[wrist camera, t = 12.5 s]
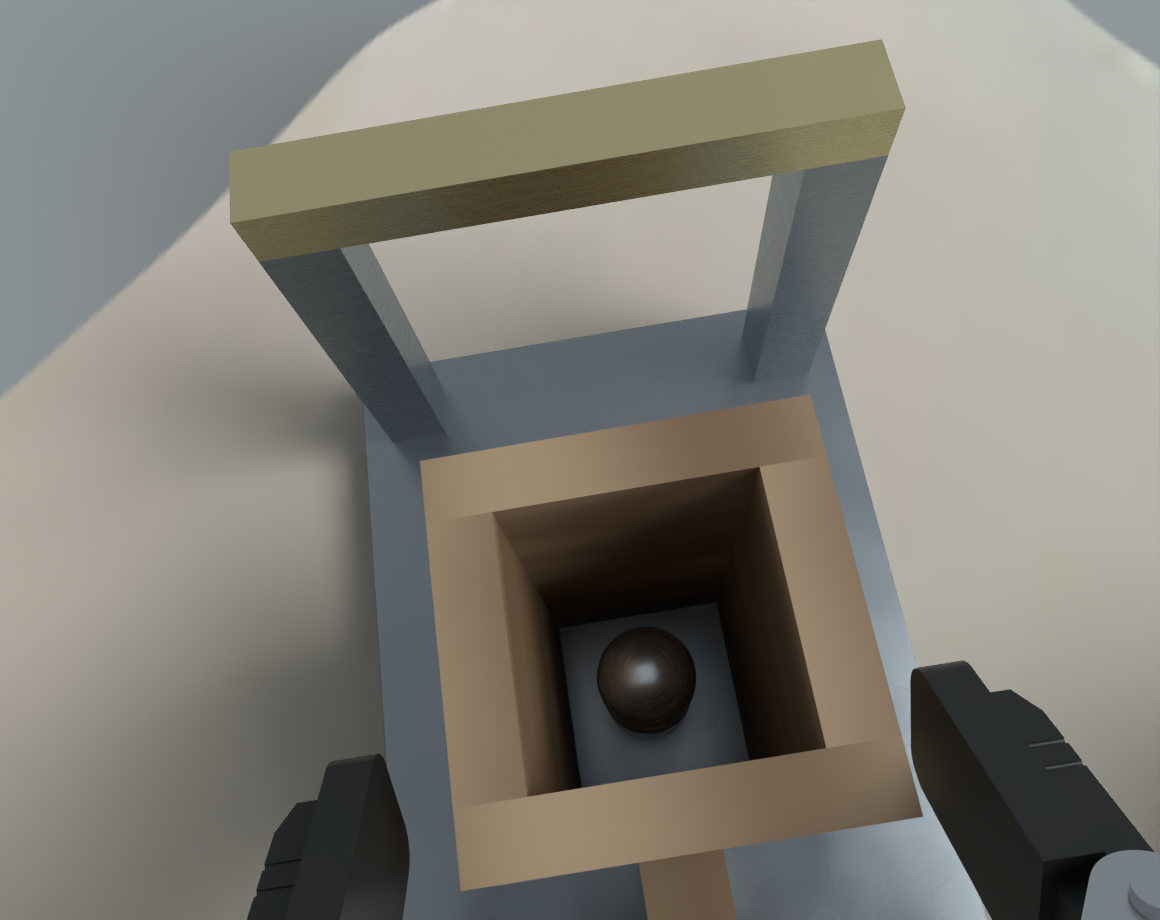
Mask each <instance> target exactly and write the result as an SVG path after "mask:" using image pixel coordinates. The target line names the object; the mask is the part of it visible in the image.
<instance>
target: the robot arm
mask: <svg viewBox="0 0 1160 920" xmlns="http://www.w3.org/2000/svg"><path fill="white" fill-rule="evenodd" d="M910 709H911V754H912V760H913V765H914V769H915V772H916V775H917V778H918V781H919V784H920V786H921V789H922V791H923V793H924V794H925V796H926V798H927V800H928V802H929V804H930V806H931V807H932V809H933V811H934V813H935V815H936V817H937V819H938V820H939V822H940V824H941V826H942V828H943V830H944V831H945V833H946V835H947V837H948V839H949V841H950V843H951V844H952V846H953V848H954V850H955V852H956V854H957V856H958V857H959V859H960V861H961V863H962V865H963V867H964V868H965V870H966V872H967V874H968V876H969V878H970V880H971V881H972V883H973V885H974V887H975V889H976V891H977V893H978V894H979V896H980V898H981V900H982V902H983V904H984V905H985V907H986V909H987V911H988V913H989V915H990V917H991V918H992V920H1160V854H1159V853H1155V852H1154V851H1153V850H1152V848H1151V847H1150V846H1149V845H1148V844H1147V842H1146V841H1145V840H1144V838H1143V837H1142V836H1141V835H1140V833H1139V832H1138V831H1137V830H1136V828H1135V827H1134V826H1133V825H1132V823H1131V822H1130V821H1129V819H1128V818H1127V817H1126V816H1125V814H1124V813H1123V812H1122V811H1121V809H1120V808H1119V807H1118V806H1117V804H1116V803H1115V802H1114V800H1113V799H1112V798H1111V797H1110V795H1109V794H1108V793H1107V792H1106V790H1105V789H1104V788H1103V786H1102V785H1101V784H1100V783H1099V781H1098V780H1097V779H1096V778H1095V776H1094V775H1093V774H1092V773H1091V771H1090V770H1089V769H1088V767H1087V766H1083V764H1082V761H1081V759H1080V757H1079V756H1078V755H1077V754H1076V752H1075V751H1074V750H1073V748H1072V747H1071V746H1070V745H1069V743H1065V741H1064V737H1063V736H1062V734H1061V733H1060V732H1059V731H1058V729H1057V728H1056V727H1055V726H1054V724H1053V723H1052V722H1051V721H1050V719H1049V718H1048V717H1047V715H1046V714H1045V713H1044V712H1043V711H1042V710H1041V709H1039V708H1038V707H1036V706H1035V705H1033V704H1032V703H1030V702H1029V701H1027V700H1026V699H1024V698H1022V697H1021V696H1019V695H1018V694H1016V693H1015V692H1013V691H1012V690H1004V691H997V692H991V693H990V692H989V690H988V689H987V687H986V686H985V685H984V683H983V682H982V681H981V679H980V678H979V676H978V675H977V674H976V672H975V671H974V670H973V668H972V667H971V666H970V665H969V664H968V663H967V662H965V661H957V662H951V663H945V664H938V665H932V666H926V667H920V668H915V669H913V670H912V673H911V678H910ZM409 868H410V851H409V841H408V834H407V830H406V826H405V822H404V819H403V816H402V813H401V810H400V807H399V804H398V801H397V797H396V794H395V791H394V788H393V785H392V782H391V779H390V776H389V772H388V769H387V766H386V763H385V761H384V759H383V757H382V756H381V755H380V754H375V755H369V756H363V757H356V758H350V759H344V760H338V761H332V762H330V763H329V764H328V766H327V768H326V771H325V775H324V778H323V782H322V786H321V789H320V793H319V797H318V800H314V801H308V802H302V803H297V804H296V805H295V807H294V808H293V809H292V811H291V812H290V813H289V815H288V816H287V817H286V819H285V820H284V821H283V823H282V824H281V825H280V827H279V828H278V829H277V830H276V832H275V833H274V836H273V839H272V843H271V846H270V849H269V852H268V855H267V858H266V861H265V871H262V874H261V877H260V880H259V883H258V887H257V890H256V891H257V896H256V897H254V899H253V902H252V905H251V909H250V912H249V915H248V918H247V920H403V913H404V906H405V898H406V891H407V884H408V877H409Z"/></svg>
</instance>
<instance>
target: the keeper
mask: <svg viewBox="0 0 1160 920" xmlns="http://www.w3.org/2000/svg"><path fill="white" fill-rule="evenodd" d="M904 110H905V105H904V102H903V99H902V96H901V94H900V91H899V88H898V85H897V82H896V79H895V76H894V73H893V70H892V67H891V64H890V62H889V59H888V56H887V53H886V50H885V47H884V44H883V41H882V40H876V41H870V42H864V43H858V44H853V45H847V46H841V47H835V48H829V49H824V50H818V51H812V52H806V53H800V54H795V55H789V56H783V57H777V58H771V59H765V60H760V61H754V62H748V63H742V64H736V65H731V66H725V67H719V68H713V69H707V70H702V71H696V72H690V73H684V74H678V75H673V76H667V77H661V78H655V79H649V80H644V81H638V82H632V83H626V84H620V85H615V86H609V87H603V88H597V89H591V90H586V91H580V92H574V93H568V94H562V95H557V96H551V97H545V98H539V99H533V100H528V101H522V102H516V103H510V104H504V105H499V106H493V107H487V108H481V109H475V110H470V111H464V112H458V113H452V114H446V115H441V116H435V117H429V118H423V119H417V120H412V121H406V122H400V123H394V124H388V125H383V126H377V127H371V128H365V129H359V130H353V131H348V132H342V133H336V134H330V135H324V136H319V137H313V138H307V139H301V140H295V141H290V142H284V143H278V144H272V145H266V146H261V147H255V148H249V149H244V150H238V151H232V152H230V224H231V225H232V226H233V228H234V229H235V230H236V232H237V233H238V234H239V236H240V237H241V238H242V240H243V241H244V242H245V244H246V245H247V247H248V248H249V249H250V251H251V252H252V253H253V255H254V256H255V257H256V259H257V260H258V261H259V263H260V264H261V265H262V267H263V268H264V269H265V271H266V272H267V273H268V275H269V276H270V278H271V279H272V280H273V282H274V283H275V284H276V286H277V287H278V288H279V290H280V291H281V292H282V294H283V295H284V296H285V298H286V299H287V300H288V302H289V303H290V305H291V306H292V307H293V309H294V310H295V311H296V313H297V314H298V315H299V317H300V318H301V319H302V321H303V322H304V323H305V325H306V326H307V327H308V329H309V330H310V332H311V333H312V334H313V336H314V337H315V338H316V340H317V341H318V342H319V344H320V345H321V346H322V348H323V349H324V350H325V352H326V353H327V354H328V356H329V357H330V358H331V360H332V361H333V363H334V364H335V365H336V367H337V368H338V369H339V371H340V372H341V373H342V375H343V376H344V377H345V379H346V380H347V381H348V383H349V384H350V385H351V387H352V388H353V390H354V391H355V392H356V394H357V395H358V396H359V398H360V399H361V400H362V402H363V411H364V426H365V441H366V457H367V472H368V487H369V503H370V518H371V533H372V549H373V564H374V579H375V595H376V610H377V625H378V641H379V656H380V671H381V687H382V702H383V717H384V733H385V748H386V763H387V769H388V772H389V776H390V779H391V782H392V785H393V788H394V791H395V794H396V797H397V801H398V804H399V807H400V810H401V813H402V816H403V819H404V822H405V826H406V830H407V834H408V841H409V851H410V868H409V877H408V884H407V891H406V898H405V906H404V913H403V920H648V917H647V911H646V905H645V899H644V892H643V886H642V880H641V874H640V867H639V863H633V864H627V865H621V866H615V867H608V868H602V869H596V870H590V871H584V872H577V873H571V874H565V875H559V876H553V877H546V878H540V879H534V880H528V881H522V882H515V883H509V884H503V885H497V886H491V887H484V888H478V889H472V890H466V891H461V889H460V879H459V868H458V857H457V847H456V836H455V826H454V815H453V805H452V794H451V784H450V773H449V763H448V752H447V742H446V731H445V720H444V710H443V699H442V689H441V678H440V668H439V657H438V647H437V636H436V626H435V615H434V604H433V594H432V583H431V573H430V562H429V552H428V541H427V531H426V520H425V510H424V499H423V489H422V478H421V467H420V461H422V460H428V459H434V458H440V457H446V456H452V455H458V454H463V453H469V452H475V451H481V450H487V449H493V448H499V447H504V446H510V445H516V444H522V443H528V442H534V441H540V440H545V439H551V438H557V437H563V436H569V435H575V434H581V433H587V432H592V431H598V430H604V429H610V428H616V427H622V426H628V425H633V424H639V423H645V422H651V421H657V420H663V419H669V418H674V417H680V416H686V415H692V414H698V413H704V412H710V411H716V410H721V409H727V408H733V407H739V406H745V405H751V404H757V403H762V402H768V401H774V400H780V399H786V398H792V397H798V396H804V395H809V394H811V398H812V402H813V405H814V409H815V413H816V417H817V420H818V424H819V428H820V432H821V435H822V439H823V443H824V447H825V450H826V454H827V458H828V461H829V465H830V469H831V473H832V476H833V480H834V484H835V488H836V491H837V495H838V499H839V503H840V506H841V510H842V514H843V518H844V521H845V525H846V529H847V533H848V536H849V540H850V544H851V548H852V551H853V555H854V559H855V563H856V566H857V570H858V574H859V577H860V581H861V585H862V589H863V592H864V596H865V600H866V604H867V607H868V611H869V615H870V619H871V622H872V626H873V630H874V634H875V637H876V641H877V645H878V649H879V652H880V656H881V660H882V664H883V667H884V671H885V675H886V679H887V682H888V686H889V690H890V693H891V697H892V701H893V705H894V708H895V712H896V716H897V720H898V723H899V727H900V731H901V735H902V738H903V742H904V746H905V750H906V753H907V757H908V761H909V765H910V768H911V772H912V776H913V780H914V783H915V787H916V791H917V794H918V798H919V802H920V806H921V809H922V813H923V817H919V818H913V819H906V820H900V821H894V822H888V823H882V824H875V825H869V826H863V827H857V828H850V829H844V830H838V831H832V832H826V833H819V834H813V835H807V836H801V837H795V838H788V839H782V840H776V841H770V842H764V843H757V844H751V845H745V846H739V847H733V848H726V849H723V851H724V856H725V861H726V867H727V872H728V877H729V882H730V887H731V893H732V898H733V903H734V908H735V914H736V919H737V920H986V917H985V913H984V909H983V906H982V902H981V898H980V896H979V894H978V893H977V891H976V889H975V887H974V885H973V883H972V881H971V880H970V878H969V876H968V874H967V872H966V870H965V868H964V867H963V865H962V863H961V861H960V859H959V857H958V856H957V854H956V852H955V850H954V848H953V846H952V844H951V843H950V841H949V839H948V837H947V835H946V833H945V831H944V830H943V828H942V826H941V824H940V822H939V820H938V819H937V817H936V815H935V813H934V811H933V809H932V807H931V806H930V804H929V802H928V800H927V798H926V796H925V794H924V793H923V791H922V789H921V786H920V784H919V781H918V778H917V775H916V772H915V769H914V765H913V760H912V754H911V709H910V678H911V673H912V670H913V669H915V668H917V664H916V661H915V657H914V653H913V650H912V646H911V642H910V639H909V635H908V631H907V628H906V624H905V620H904V617H903V613H902V609H901V606H900V602H899V598H898V595H897V591H896V587H895V584H894V580H893V576H892V573H891V569H890V565H889V562H888V558H887V555H886V551H885V547H884V544H883V540H882V536H881V533H880V529H879V525H878V522H877V518H876V514H875V511H874V507H873V503H872V500H871V496H870V492H869V489H868V485H867V481H866V478H865V474H864V470H863V467H862V463H861V459H860V456H859V452H858V448H857V445H856V441H855V437H854V434H853V430H852V427H851V423H850V419H849V416H848V412H847V408H846V405H845V401H844V397H843V394H842V390H841V386H840V383H839V379H838V375H837V372H836V368H835V364H834V361H833V357H832V353H831V350H830V346H829V342H828V339H827V335H826V331H825V327H826V324H827V322H828V319H829V316H830V314H831V311H832V308H833V305H834V303H835V300H836V297H837V294H838V292H839V289H840V286H841V283H842V281H843V278H844V275H845V272H846V270H847V267H848V264H849V261H850V259H851V256H852V253H853V250H854V248H855V245H856V242H857V239H858V237H859V234H860V231H861V228H862V226H863V223H864V220H865V217H866V215H867V212H868V209H869V206H870V204H871V201H872V198H873V196H874V193H875V190H876V187H877V185H878V182H879V179H880V176H881V174H882V171H883V168H884V165H885V163H886V160H887V157H888V154H889V152H890V149H891V146H892V143H893V141H894V138H895V135H896V132H897V130H898V127H899V124H900V121H901V119H902V116H903V113H904ZM770 175H773V176H772V181H771V187H770V192H769V197H768V202H767V208H766V213H765V218H764V224H763V229H762V234H761V239H760V245H759V250H758V255H757V260H756V266H755V271H754V276H753V281H752V287H751V292H750V297H749V302H748V308H747V310H742V311H736V312H730V313H724V314H718V315H712V316H706V317H700V318H694V319H688V320H682V321H676V322H670V323H664V324H658V325H652V326H645V327H639V328H633V329H627V330H621V331H615V332H609V333H603V334H597V335H591V336H585V337H579V338H573V339H567V340H561V341H555V342H549V343H543V344H537V345H531V346H525V347H519V348H513V349H507V350H501V351H495V352H489V353H483V354H477V355H471V356H465V357H459V358H453V359H447V360H441V361H435V362H430V361H429V359H428V357H427V356H426V354H425V352H424V350H423V348H422V346H421V344H420V342H419V340H418V338H417V336H416V334H415V332H414V330H413V328H412V327H411V325H410V323H409V321H408V319H407V317H406V315H405V313H404V311H403V309H402V307H401V305H400V303H399V301H398V300H397V298H396V296H395V294H394V292H393V290H392V288H391V286H390V284H389V282H388V280H387V278H386V276H385V274H384V273H383V271H382V269H381V267H380V265H379V263H378V261H377V259H376V257H375V255H374V253H373V251H372V249H371V247H370V246H369V244H368V243H374V242H380V241H386V240H392V239H398V238H404V237H410V236H416V235H422V234H427V233H433V232H439V231H445V230H451V229H457V228H463V227H469V226H475V225H481V224H486V223H492V222H498V221H504V220H510V219H516V218H522V217H528V216H534V215H540V214H545V213H551V212H557V211H563V210H569V209H575V208H581V207H587V206H593V205H599V204H604V203H610V202H616V201H622V200H628V199H634V198H640V197H646V196H652V195H658V194H663V193H669V192H675V191H681V190H687V189H693V188H699V187H705V186H711V185H716V184H722V183H728V182H734V181H740V180H746V179H752V178H758V177H764V176H770ZM559 633H560V640H561V647H562V654H563V661H564V668H565V675H566V682H567V689H568V696H569V703H570V710H571V717H572V724H573V731H574V738H575V745H576V752H577V759H578V765H579V772H580V779H581V786H582V788H585V787H591V786H597V785H604V784H610V783H616V782H622V781H628V780H634V779H640V778H646V777H653V776H659V775H665V774H671V773H677V772H683V771H689V770H696V769H702V768H708V767H714V766H720V765H726V764H732V763H739V762H745V761H749V757H748V752H747V747H746V742H745V738H744V733H743V728H742V723H741V718H740V714H739V709H738V704H737V699H736V694H735V689H734V685H733V680H732V675H731V670H730V665H729V661H728V656H727V651H726V646H725V641H724V637H723V632H722V627H721V622H720V617H719V612H718V608H717V603H716V602H715V603H709V604H703V605H697V606H691V607H685V608H679V609H673V610H667V611H661V612H655V613H649V614H643V615H637V616H631V617H625V618H619V619H613V620H607V621H601V622H595V623H589V624H583V625H577V626H571V627H565V628H559Z"/></svg>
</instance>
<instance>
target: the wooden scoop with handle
mask: <svg viewBox="0 0 1160 920" xmlns="http://www.w3.org/2000/svg"><path fill="white" fill-rule="evenodd" d="M420 467H421V478H422V489H423V499H424V510H425V520H426V531H427V541H428V552H429V562H430V573H431V583H432V594H433V604H434V615H435V626H436V636H437V647H438V657H439V668H440V678H441V689H442V699H443V710H444V720H445V731H446V742H447V752H448V763H449V773H450V784H451V794H452V805H453V815H454V826H455V836H456V847H457V857H458V868H459V879H460V889H461V891H466V890H472V889H478V888H484V887H491V886H497V885H503V884H509V883H515V882H522V881H528V880H534V879H540V878H546V877H553V876H559V875H565V874H571V873H577V872H584V871H590V870H596V869H602V868H608V867H615V866H621V865H627V864H633V863H639V867H640V874H641V880H642V886H643V892H644V899H645V905H646V911H647V917H648V920H737V919H736V914H735V908H734V903H733V898H732V893H731V887H730V882H729V877H728V872H727V867H726V861H725V856H724V851H723V849H726V848H733V847H739V846H745V845H751V844H757V843H764V842H770V841H776V840H782V839H788V838H795V837H801V836H807V835H813V834H819V833H826V832H832V831H838V830H844V829H850V828H857V827H863V826H869V825H875V824H882V823H888V822H894V821H900V820H906V819H913V818H919V817H923V813H922V809H921V806H920V802H919V798H918V794H917V791H916V787H915V783H914V780H913V776H912V772H911V768H910V765H909V761H908V757H907V753H906V750H905V746H904V742H903V738H902V735H901V731H900V727H899V723H898V720H897V716H896V712H895V708H894V705H893V701H892V697H891V693H890V690H889V686H888V682H887V679H886V675H885V671H884V667H883V664H882V660H881V656H880V652H879V649H878V645H877V641H876V637H875V634H874V630H873V626H872V622H871V619H870V615H869V611H868V607H867V604H866V600H865V596H864V592H863V589H862V585H861V581H860V577H859V574H858V570H857V566H856V563H855V559H854V555H853V551H852V548H851V544H850V540H849V536H848V533H847V529H846V525H845V521H844V518H843V514H842V510H841V506H840V503H839V499H838V495H837V491H836V488H835V484H834V480H833V476H832V473H831V469H830V465H829V461H828V458H827V454H826V450H825V447H824V443H823V439H822V435H821V432H820V428H819V424H818V420H817V417H816V413H815V409H814V405H813V402H812V398H811V394H809V395H804V396H798V397H792V398H786V399H780V400H774V401H768V402H762V403H757V404H751V405H745V406H739V407H733V408H727V409H721V410H716V411H710V412H704V413H698V414H692V415H686V416H680V417H674V418H669V419H663V420H657V421H651V422H645V423H639V424H633V425H628V426H622V427H616V428H610V429H604V430H598V431H592V432H587V433H581V434H575V435H569V436H563V437H557V438H551V439H545V440H540V441H534V442H528V443H522V444H516V445H510V446H504V447H499V448H493V449H487V450H481V451H475V452H469V453H463V454H458V455H452V456H446V457H440V458H434V459H428V460H422V461H420ZM715 602H716V603H717V608H718V612H719V617H720V622H721V627H722V632H723V637H724V641H725V646H726V651H727V656H728V661H729V665H730V670H731V675H732V680H733V685H734V689H735V694H736V699H737V704H738V709H739V714H740V718H741V723H742V728H743V733H744V738H745V742H746V747H747V752H748V757H749V761H745V762H739V763H732V764H726V765H720V766H714V767H708V768H702V769H696V770H689V771H683V772H677V773H671V774H665V775H659V776H653V777H646V778H640V779H634V780H628V781H622V782H616V783H610V784H604V785H597V786H591V787H585V788H582V786H581V779H580V772H579V765H578V759H577V752H576V745H575V738H574V731H573V724H572V717H571V710H570V703H569V696H568V689H567V682H566V675H565V668H564V661H563V654H562V647H561V640H560V633H559V628H565V627H571V626H577V625H583V624H589V623H595V622H601V621H607V620H613V619H619V618H625V617H631V616H637V615H643V614H649V613H655V612H661V611H667V610H673V609H679V608H685V607H691V606H697V605H703V604H709V603H715Z"/></svg>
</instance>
